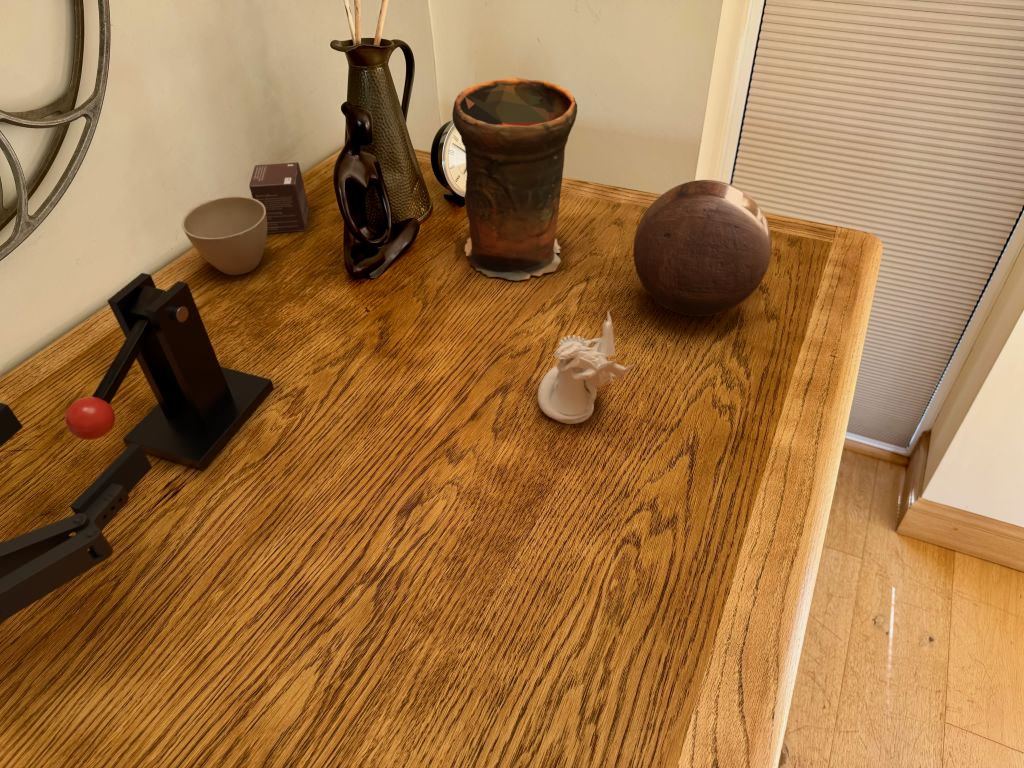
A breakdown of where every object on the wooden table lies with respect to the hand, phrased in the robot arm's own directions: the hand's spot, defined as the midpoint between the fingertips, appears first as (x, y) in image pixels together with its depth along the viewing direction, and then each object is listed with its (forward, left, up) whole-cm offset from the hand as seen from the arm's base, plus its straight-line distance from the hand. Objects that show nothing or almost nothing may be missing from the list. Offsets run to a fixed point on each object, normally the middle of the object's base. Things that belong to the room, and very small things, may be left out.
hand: (76, 434), depth 59 cm
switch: (-1, +7, 0) cm, 7 cm away
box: (-21, +45, -10) cm, 50 cm away
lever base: (-2, +12, -10) cm, 15 cm away
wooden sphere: (+35, +54, -10) cm, 65 cm away
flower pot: (-19, +34, -10) cm, 40 cm away
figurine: (+32, +31, -10) cm, 45 cm away
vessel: (+11, +54, -10) cm, 56 cm away
